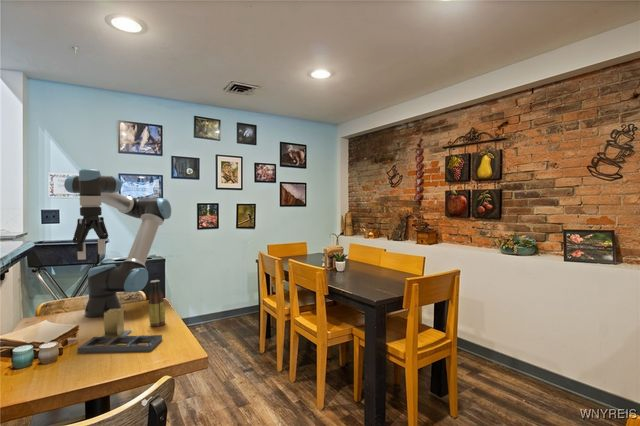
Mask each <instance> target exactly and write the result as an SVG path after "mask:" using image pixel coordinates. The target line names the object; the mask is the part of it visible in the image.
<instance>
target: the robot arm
mask: <svg viewBox="0 0 640 426" xmlns="http://www.w3.org/2000/svg"><path fill="white" fill-rule="evenodd" d="M63 183H64V184H63V186H64V189H65V190H66V192H68V193H71V194H79V206H80V208H79V215H80V216H81V217H82V218H77V223H76V224H77V225H76V227H75V231H74V233H73V234H74V235H73V238H72V243H73V244H76V249H77V260H78V261H79V260H80V261H81V260H83V261H84V260H87V255H86V252H87V249H86V243H85V241H86V239H87V236H88V234H89V233H90V231H91V230H92V229H93V231H94V232H95V234H96V236H97V237H98V239H97V255H106V240H108V239H109V233H108V230H107V227H106V224H105V221H104V220H105V219H104V217H103V216H102V211H103V210H102V207H101V206H102V203H103V204H105V205H107V206H108V207H109V206H110V207H112V208H114V209H117V211H118V212H119V213H121V214H123V215H125V216H129V217H131V218H135V219H140V220H141V223H140V225H139V228H138V230H137V233H136V235H135V237H134V240H133V243H132V244H131V248H130V250H129V252H128V255H127V258H126V259H125V260H123V261H121V263H120V266H119V267H117V265H116V263H110V264H103V265H98V266H95V267H92V268H90V269H89V270H88V272H87V287H88V288H87V289H88V290H87V291H88V300H87V303H86V305H85V308H84V316H85V317H88V318H99V317H104V312H106V311H108V310H110V309H122V305H121V302H120V299H119V297H118V293H137V292H140V291H141V290H143V289H144V288H145V287H146V285H147V284H148V281H149V271H148V270H147V266H146V262H147V259H148V256H149V253H150V251H151V249H152V245H153V242H154V240H155V237H156V234H157V232H158V229H159V227H160V226H162V225H163V224H164V221H165V220H168V219H170V218H171V215H172V207H171V204H170V201H169V200H168V199H166V198H164V197H163V198H161V197H155V198H154V197H151V198H149V197H148V198H147V197H143V198H141V197H131V196H130V195H129V196H128V195H123V194H120V193H119V191H120V190H121V189H122V181H121V179H120V178H119V177H116V176H113V175H102V174H101V171H100V170H99V169H90V168H89V169H87V168H86V169H85V168H84V169H80V170H79V171H78V175H75V176H68V177H66V179H64V182H63Z"/></svg>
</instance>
